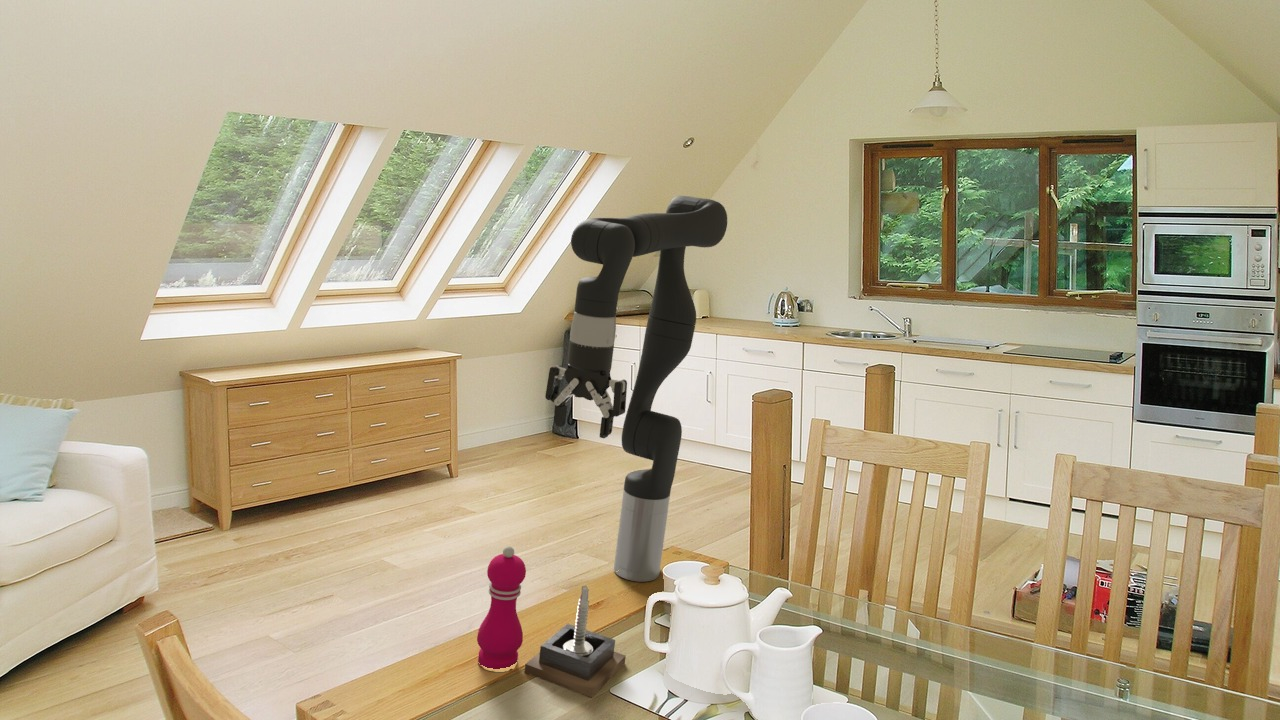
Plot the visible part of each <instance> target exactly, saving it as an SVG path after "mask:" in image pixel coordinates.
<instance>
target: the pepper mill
mask: <svg viewBox="0 0 1280 720" xmlns="http://www.w3.org/2000/svg"><path fill="white" fill-rule="evenodd" d="M526 569H527V568H526V564H525V562H524V561H523V559H522V558H521V557H519V556H517V555H516V554H515V549H514V548H513V547H512V546H505V547H504V548H503V550H502V553H501V554H498V555H496V556H494V557H493V558H492V559H491V560H490V562H489V563H488V567H487V570H486V571H487V579H488V580H489V581H490V583H489V584H488V594H489V595H490V600H491V601H490V606H489V610H488V613H487V614H486V616H485V617H484V619H483V620H482V622H481V624H480V626H479V628H478V631H477V635H476V636H477V637H476V642H477V644H478V646H479V648H480V649H479V651H478V656H477V657H478V658H477V663H478V662H479V663H480V665H483V666H485V667H487V668H493V669H500V668H506V667H510V666H511V665H513V664H515V663H516V662H517V663H518V661H517V660H518V659H519V652H518V651H519V649H520V648H521V647H522V644H523V641H524V639H523V638H524V637H523V636H524V635H523V633H524V632H523V628H522V624H521V621H520V619H519V616H518V614H517V600H518V597H520V596H521V593H522V591H521V590H522V585H521V584H522V583H523V582H524V580H525V578H526V574H527V573H526V572H527V570H526ZM479 663H478V664H479ZM480 665H479V666H480Z"/></svg>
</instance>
